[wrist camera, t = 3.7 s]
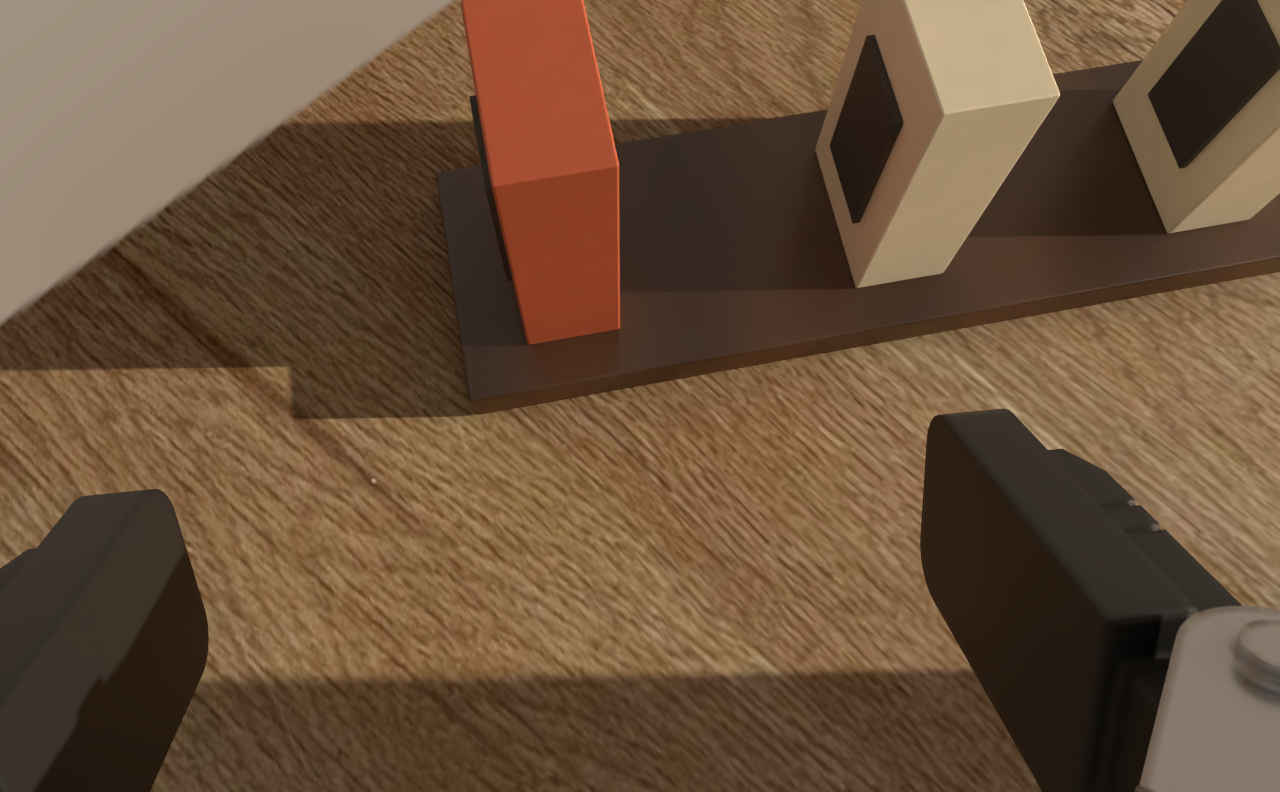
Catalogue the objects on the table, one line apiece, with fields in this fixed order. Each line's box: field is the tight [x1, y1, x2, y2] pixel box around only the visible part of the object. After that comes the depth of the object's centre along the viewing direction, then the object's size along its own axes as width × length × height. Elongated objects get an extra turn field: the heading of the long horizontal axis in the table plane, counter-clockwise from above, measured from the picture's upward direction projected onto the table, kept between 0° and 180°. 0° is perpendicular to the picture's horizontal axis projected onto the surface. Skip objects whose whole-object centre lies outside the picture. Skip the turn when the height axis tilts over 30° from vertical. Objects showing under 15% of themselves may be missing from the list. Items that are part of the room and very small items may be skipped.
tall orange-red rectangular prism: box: [461, 0, 620, 344], centre depth 24 cm, size 3×4×8 cm, turn 11°
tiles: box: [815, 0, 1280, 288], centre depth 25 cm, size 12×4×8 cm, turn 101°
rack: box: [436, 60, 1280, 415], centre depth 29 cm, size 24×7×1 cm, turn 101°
